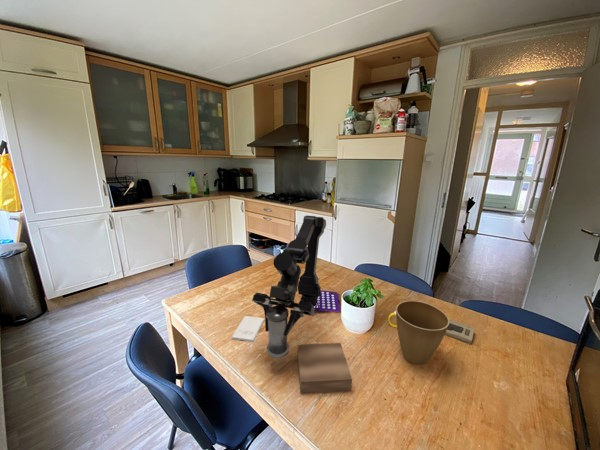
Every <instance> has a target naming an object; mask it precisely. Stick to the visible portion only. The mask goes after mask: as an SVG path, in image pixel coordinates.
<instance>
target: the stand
mask: <svg viewBox="0 0 600 450" xmlns="http://www.w3.org/2000/svg"><path fill="white" fill-rule="evenodd" d="M297 364H298V379H299V390H300V392H299V393H300V394H301V395H302V394H303V395H304V394H317V393H321V394H322V393H339V392H352V387H353V386H352V385H353V384H352V383H353V382H352V381H353V378H352V375H351V371H350V369H349V364H348V362H347V359H346V357H345V353H344V350H343V346H342V343H341V342H333V343H332V342H331V343H330V342H328V343H306V344H305V343H304V344H301V343H300V344H297Z"/></svg>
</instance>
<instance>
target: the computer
mask: <svg viewBox="0 0 600 450" xmlns="http://www.w3.org/2000/svg"><path fill="white" fill-rule="evenodd" d="M448 319H449V325H448V328H447V330H446V333H445V335H444V336H447V337H450V338H453V339H456V340H458V341H459V342H464V343H466V344H469V345H472V343H473V339H474V338H473V337H474V332H475V327H473V326H470V325H468V324H465V323H461V322H459V321H456V320H453V319H450V318H448Z"/></svg>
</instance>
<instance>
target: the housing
mask: <svg viewBox="0 0 600 450" xmlns="http://www.w3.org/2000/svg"><path fill="white" fill-rule="evenodd" d="M289 311H290V310H289V308H286V307H284V306H276V305H273V306H272V307H270V308H269V309H268V310H267V312H266V316H267V319H268V332H267V333H268V344H267V346H266V353H267V355H268V356H269V357H271V358H273V359H282V358H284V357H286V356H287V355H288V354H289V353H290V344H289V342H288V335H287V336H285V331H286V327H287V324H288V319H289V317H290V312H289Z"/></svg>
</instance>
